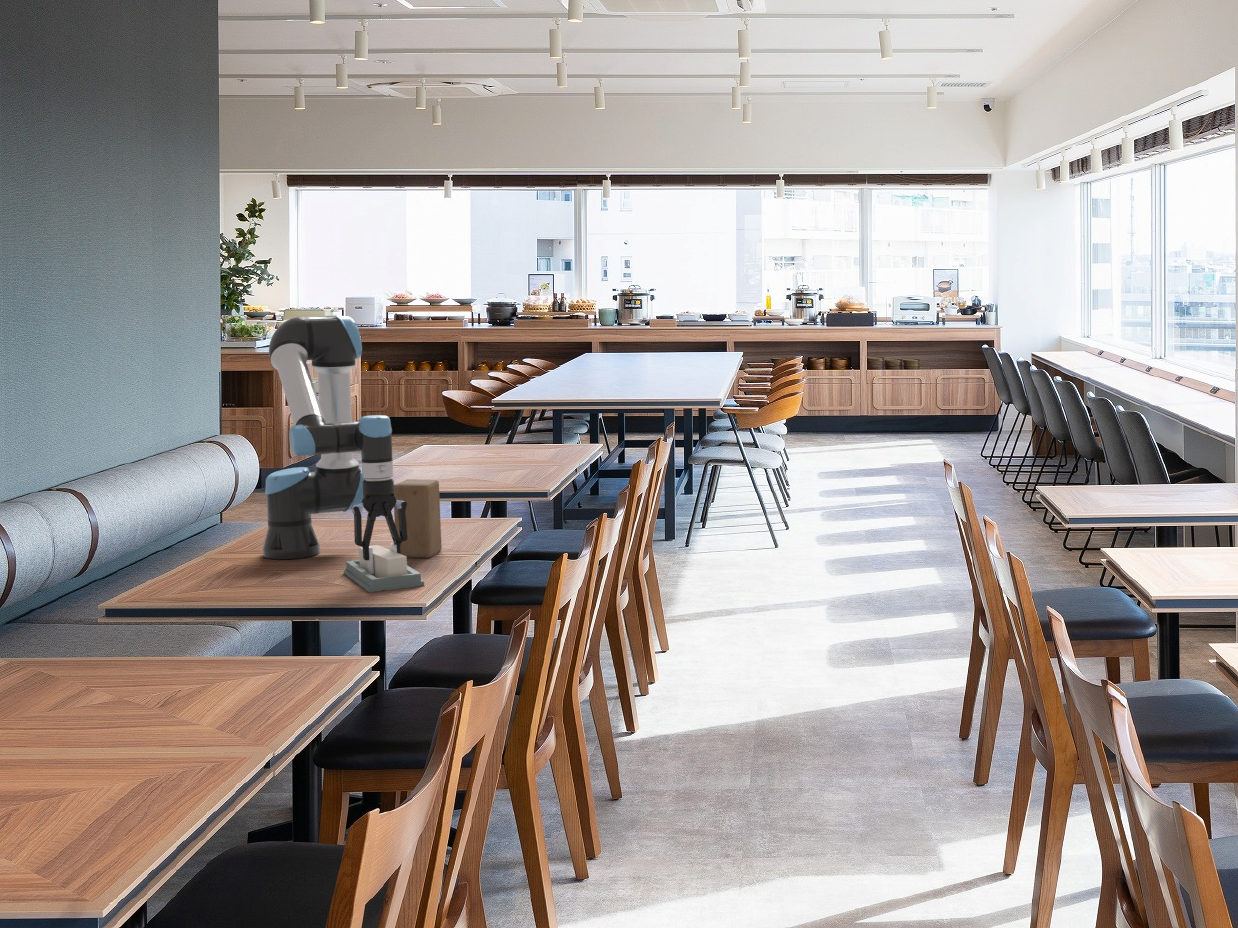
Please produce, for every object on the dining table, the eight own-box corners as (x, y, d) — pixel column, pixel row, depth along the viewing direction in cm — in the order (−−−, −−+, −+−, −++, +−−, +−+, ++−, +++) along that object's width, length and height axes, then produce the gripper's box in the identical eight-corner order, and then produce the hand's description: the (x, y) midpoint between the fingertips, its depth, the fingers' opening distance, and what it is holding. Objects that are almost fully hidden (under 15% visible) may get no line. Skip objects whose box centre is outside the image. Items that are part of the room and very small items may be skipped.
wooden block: (430, 558, 332) (427, 484, 329) (394, 558, 334) (391, 484, 331) (443, 551, 341) (439, 479, 339) (408, 550, 343) (405, 478, 341)
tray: (343, 573, 316) (343, 561, 316) (395, 567, 322) (394, 555, 322) (369, 592, 295) (368, 580, 295) (424, 585, 301) (423, 573, 301)
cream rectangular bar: (359, 570, 314) (358, 547, 313) (378, 568, 317) (377, 544, 316) (388, 583, 299) (387, 559, 298) (407, 580, 302) (406, 556, 301)
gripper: (344, 483, 298) (350, 578, 301) (418, 477, 306) (423, 569, 309) (337, 480, 304) (342, 573, 307) (409, 473, 313) (414, 564, 315)
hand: (382, 571), depth 308 cm, fingers closed on cream rectangular bar, 5 cm apart
